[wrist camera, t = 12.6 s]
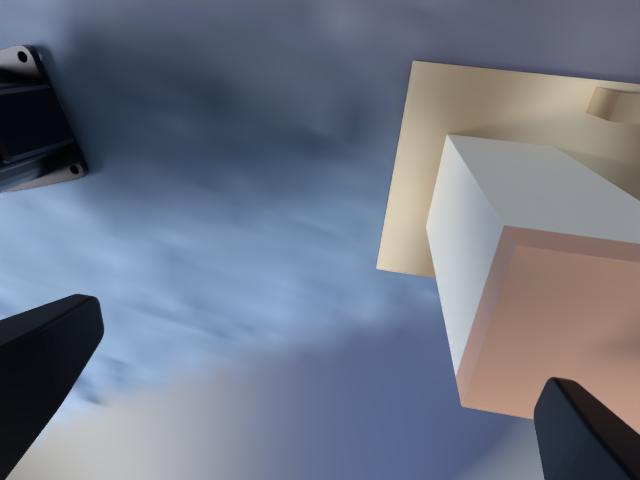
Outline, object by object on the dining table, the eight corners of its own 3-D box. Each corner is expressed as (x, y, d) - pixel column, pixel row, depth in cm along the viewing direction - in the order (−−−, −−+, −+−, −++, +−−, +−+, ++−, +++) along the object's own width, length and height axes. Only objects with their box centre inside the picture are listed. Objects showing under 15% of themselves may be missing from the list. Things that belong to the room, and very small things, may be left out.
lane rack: (376, 264, 22) (374, 301, 19) (412, 60, 17) (417, 64, 14) (765, 323, 20) (834, 376, 17) (917, 112, 15) (1050, 131, 12)
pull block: (425, 226, 20) (461, 406, 10) (446, 134, 18) (516, 245, 8) (521, 240, 19) (655, 441, 10) (553, 146, 17) (764, 280, 8)
